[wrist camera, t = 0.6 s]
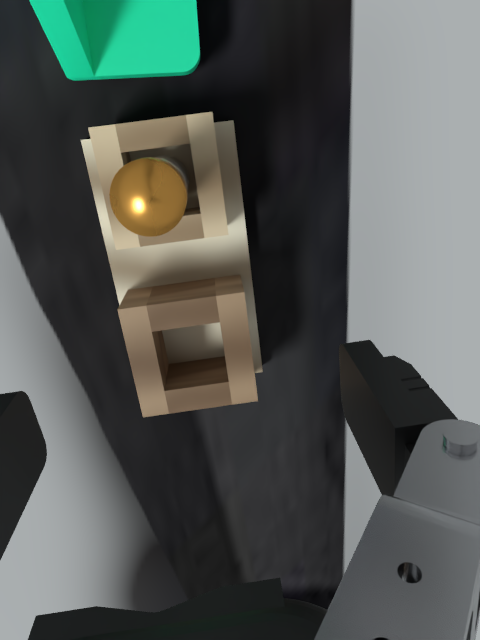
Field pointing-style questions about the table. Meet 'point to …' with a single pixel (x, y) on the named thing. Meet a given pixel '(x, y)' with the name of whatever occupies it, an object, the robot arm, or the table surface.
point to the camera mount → (121, 37)
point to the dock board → (182, 268)
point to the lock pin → (150, 195)
